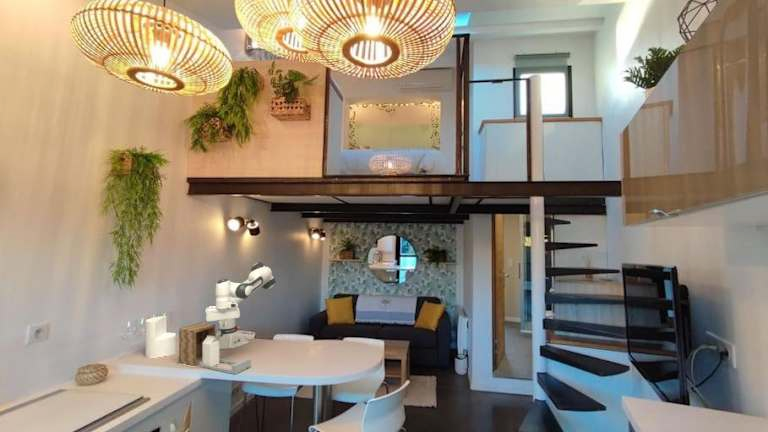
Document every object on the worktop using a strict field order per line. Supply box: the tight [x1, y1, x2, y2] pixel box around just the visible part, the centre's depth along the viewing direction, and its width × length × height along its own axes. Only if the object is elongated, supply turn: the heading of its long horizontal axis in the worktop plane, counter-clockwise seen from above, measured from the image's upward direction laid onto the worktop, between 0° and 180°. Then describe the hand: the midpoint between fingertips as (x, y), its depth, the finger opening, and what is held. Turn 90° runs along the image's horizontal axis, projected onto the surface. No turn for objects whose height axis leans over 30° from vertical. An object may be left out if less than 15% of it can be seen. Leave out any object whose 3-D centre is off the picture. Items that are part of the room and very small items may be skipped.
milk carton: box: [202, 335, 220, 366], centre depth 244 cm, size 7×7×19 cm
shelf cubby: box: [178, 322, 216, 367], centre depth 250 cm, size 14×16×24 cm
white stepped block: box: [145, 315, 177, 359], centre depth 268 cm, size 19×19×25 cm
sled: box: [198, 358, 252, 375], centre depth 240 cm, size 32×12×5 cm, turn 65°
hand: (223, 326), depth 240 cm, fingers closed
